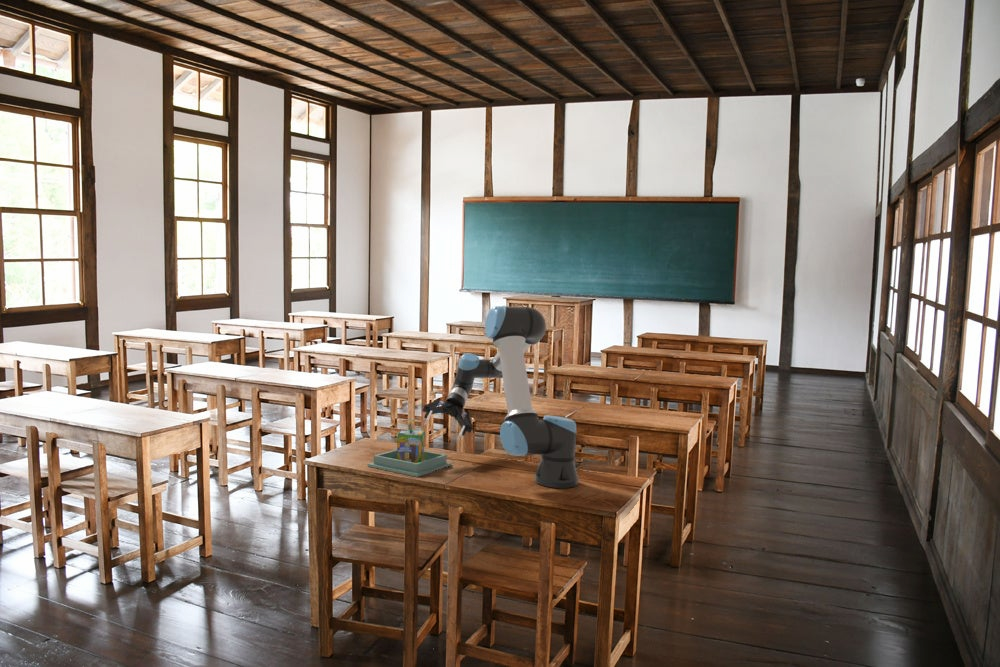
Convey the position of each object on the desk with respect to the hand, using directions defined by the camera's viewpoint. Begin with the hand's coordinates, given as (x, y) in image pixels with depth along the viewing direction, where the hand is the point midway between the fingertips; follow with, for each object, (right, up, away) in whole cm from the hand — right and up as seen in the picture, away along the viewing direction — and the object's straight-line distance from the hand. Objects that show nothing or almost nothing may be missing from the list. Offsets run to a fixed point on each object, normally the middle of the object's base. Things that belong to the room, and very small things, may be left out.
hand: (442, 430), depth 278 cm
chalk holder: (-11, -13, -3) cm, 17 cm away
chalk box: (-11, -12, -3) cm, 17 cm away
